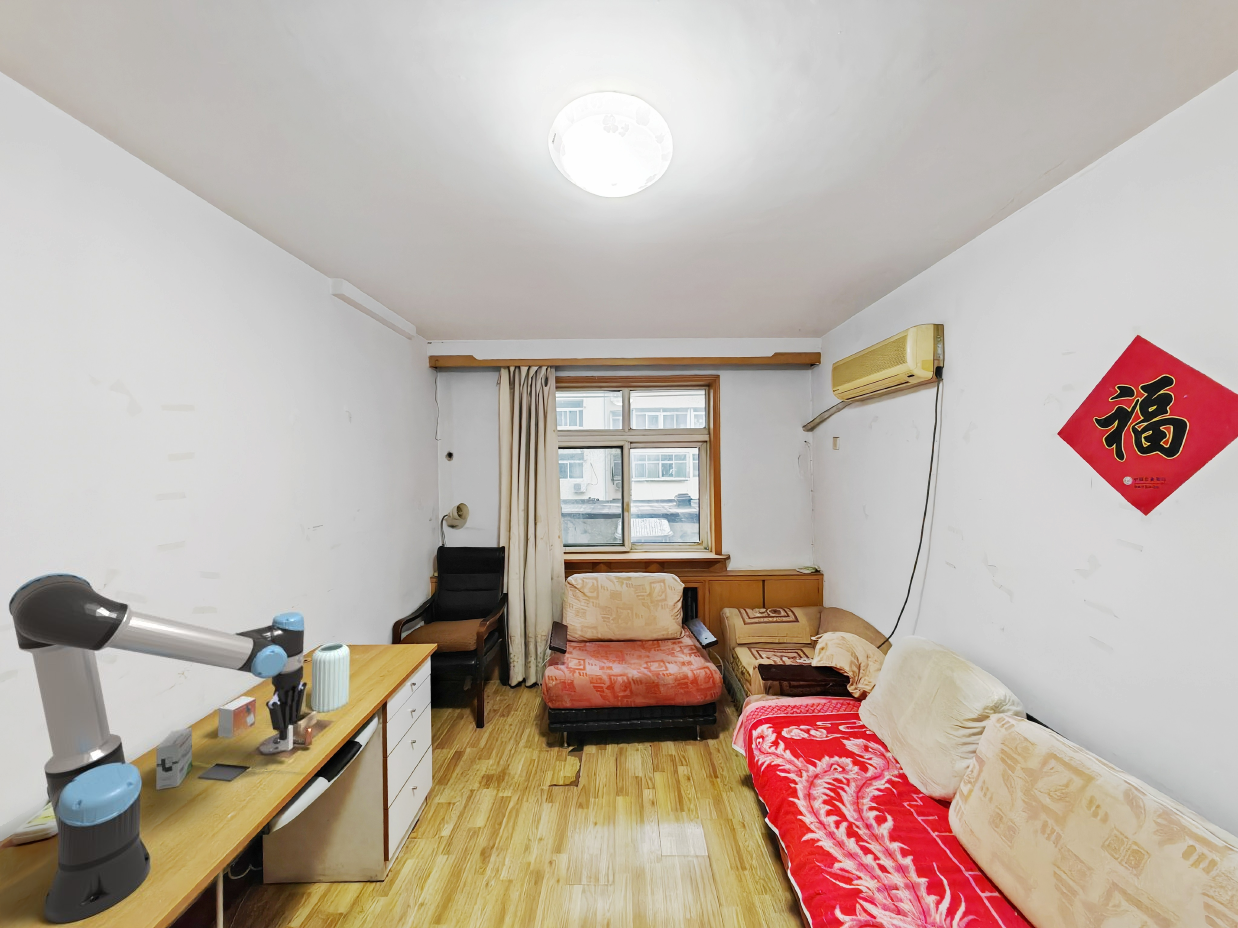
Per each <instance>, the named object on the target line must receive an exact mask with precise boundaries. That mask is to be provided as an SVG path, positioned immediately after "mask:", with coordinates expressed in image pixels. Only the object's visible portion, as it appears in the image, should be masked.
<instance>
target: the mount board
mask: <svg viewBox="0 0 1238 928" xmlns="http://www.w3.org/2000/svg"><path fill="white" fill-rule="evenodd" d="M334 722H335V720H330V719H329V720H328V719H318V718H317V722H316V723H315V724H313V725H312V727H313V735H312V740H314V739H315V738H316V737H317V736H319V735H320V734H321V733H322V732H324V730H326V729H327V728H329V726H331V724H333V723H334ZM277 734H279V731H278V732H277V733H276V734H274V735H277ZM294 735H295V740H305V731H304V732H303V733H302V734H294ZM304 747H306V746H305V745H296V744H294V745H293V747H292V748H291V749H290V750H285V751H282V752H280V753H276V754H262V753H260V751H259V746H257V747H256V748H255V749H254V750H252V751H251V752H249V753H248V755H252V756H263V757H275V758H284V759H291V757H293V756H294V755H296V754H297V753H298V752H299V751H300V750H301V749H303V748H304Z"/></svg>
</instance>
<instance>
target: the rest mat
mask: <svg viewBox="0 0 1238 928" xmlns="http://www.w3.org/2000/svg"><path fill="white" fill-rule="evenodd" d="M250 768H251V766H248V765H240V764H239V765H237V764H230V763H229V764H227V763H226V764H225V763H218V762H217V763H215V764H214V765H212V766H211V767H209V768H208V769H206V770H205V771H203V772H202V773H200V774H199V775H198V776H197V779H201V780H202V779H204V780H212V781H222V782H232V781H234V780H235V779H236V778H238V777H240V775H242V774H243V773H244V772H246V771H247V770H248V769H250Z"/></svg>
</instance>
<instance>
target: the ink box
mask: <svg viewBox="0 0 1238 928" xmlns="http://www.w3.org/2000/svg"><path fill="white" fill-rule="evenodd" d="M155 753H156V757H155V758H156V766H155V767H156V771H155V772H156V775H155V777H156V778H155V779H156V781H155V782H156V786H155V787H156V791H157V790H164V789H170V788H176V787H179V785H180V784H181V783H182V782H183V781H184V779H185V777H186V776H187V775H188V773H189V772H190V770H191V769H192V767H193V728H191V727H190V728H182V729H176V730H172V731H171V732H169V734H168V735H167V736H166V737H165V738H164V739H163V740H162V741H161V742H160V744H159V745H158V746H157V747H156V752H155Z"/></svg>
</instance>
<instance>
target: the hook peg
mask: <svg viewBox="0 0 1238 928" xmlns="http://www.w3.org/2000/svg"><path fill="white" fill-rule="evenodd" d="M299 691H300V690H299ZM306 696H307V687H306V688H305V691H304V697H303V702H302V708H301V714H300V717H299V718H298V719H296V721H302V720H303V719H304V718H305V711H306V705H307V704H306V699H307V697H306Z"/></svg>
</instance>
